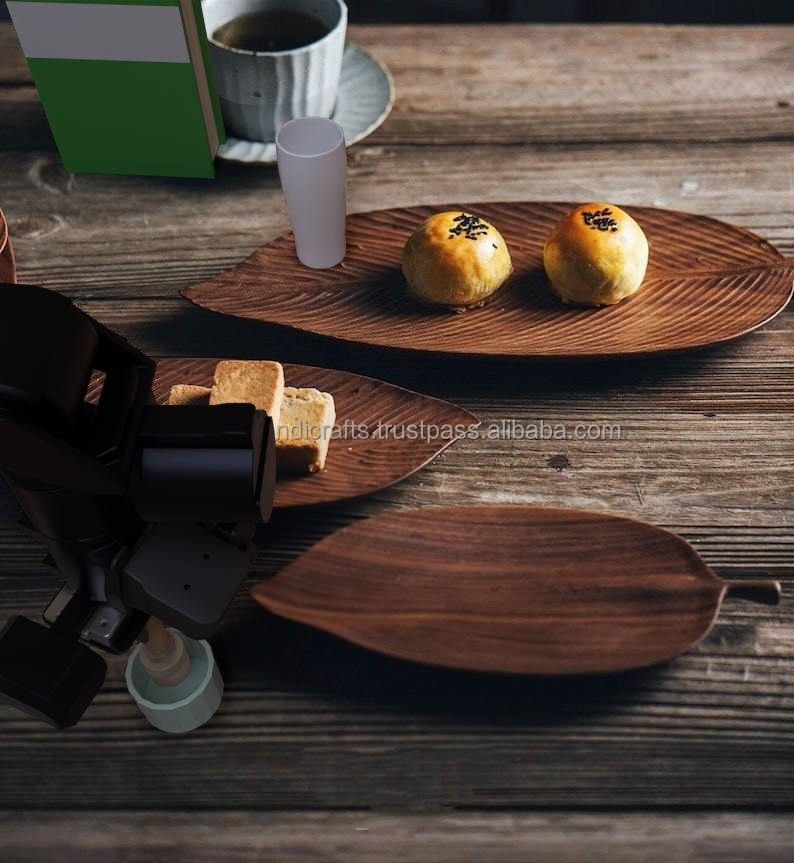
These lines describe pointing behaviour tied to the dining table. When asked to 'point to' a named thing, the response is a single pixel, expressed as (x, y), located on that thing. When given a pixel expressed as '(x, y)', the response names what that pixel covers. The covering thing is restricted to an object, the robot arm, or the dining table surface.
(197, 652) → the cup
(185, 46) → the hardback book
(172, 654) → the brush
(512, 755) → the dining table surface
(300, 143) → the drinking glass
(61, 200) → the dining table surface
